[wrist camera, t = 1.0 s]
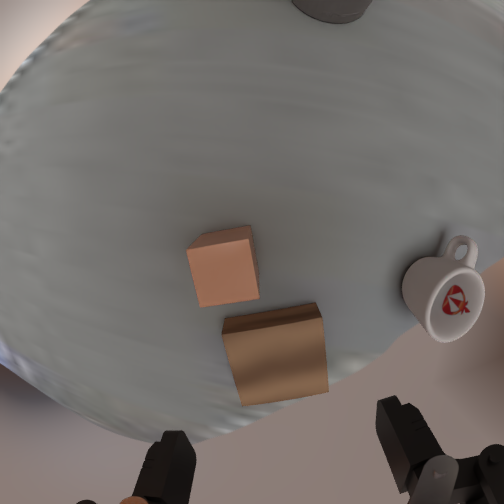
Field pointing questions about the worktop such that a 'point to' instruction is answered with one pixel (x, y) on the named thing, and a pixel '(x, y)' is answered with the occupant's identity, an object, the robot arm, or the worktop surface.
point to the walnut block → (277, 354)
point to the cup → (445, 291)
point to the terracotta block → (224, 267)
